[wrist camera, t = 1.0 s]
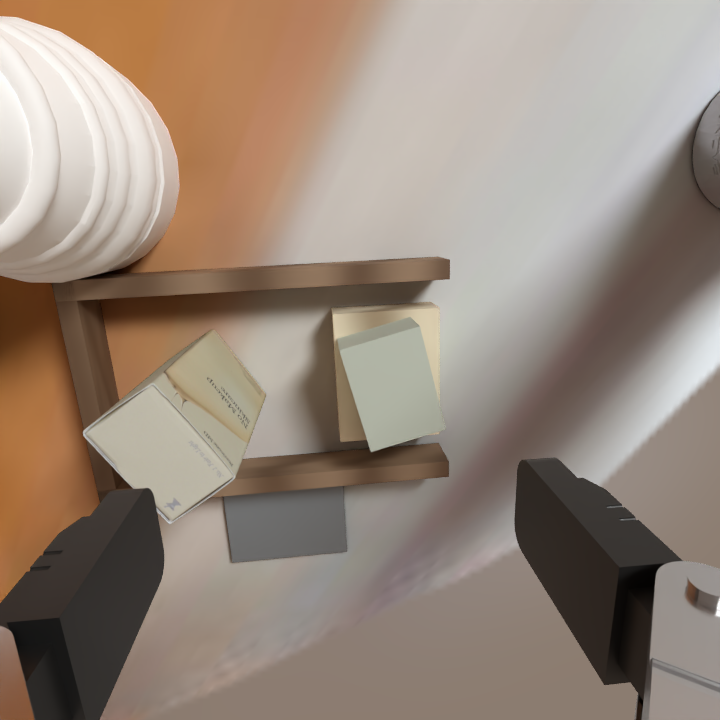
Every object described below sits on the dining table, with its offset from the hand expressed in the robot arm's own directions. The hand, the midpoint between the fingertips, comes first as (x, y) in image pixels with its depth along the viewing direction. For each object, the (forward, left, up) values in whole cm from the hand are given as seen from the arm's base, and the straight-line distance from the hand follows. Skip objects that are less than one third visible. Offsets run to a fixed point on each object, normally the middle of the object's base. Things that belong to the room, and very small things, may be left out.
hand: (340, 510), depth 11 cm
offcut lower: (-4, +4, -24) cm, 25 cm away
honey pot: (+15, -10, -24) cm, 30 cm away
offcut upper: (-4, +4, -21) cm, 22 cm away
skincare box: (+8, +4, -24) cm, 26 cm away
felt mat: (+4, +16, -24) cm, 29 cm away
